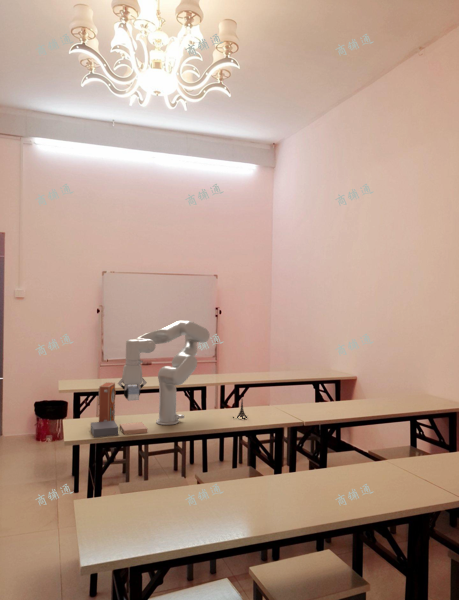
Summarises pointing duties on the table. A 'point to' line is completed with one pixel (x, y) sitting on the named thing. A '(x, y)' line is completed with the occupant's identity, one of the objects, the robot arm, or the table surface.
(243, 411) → the eiffel tower figurine
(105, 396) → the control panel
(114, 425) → the charcoal stand
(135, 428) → the terracotta stand
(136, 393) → the housing
